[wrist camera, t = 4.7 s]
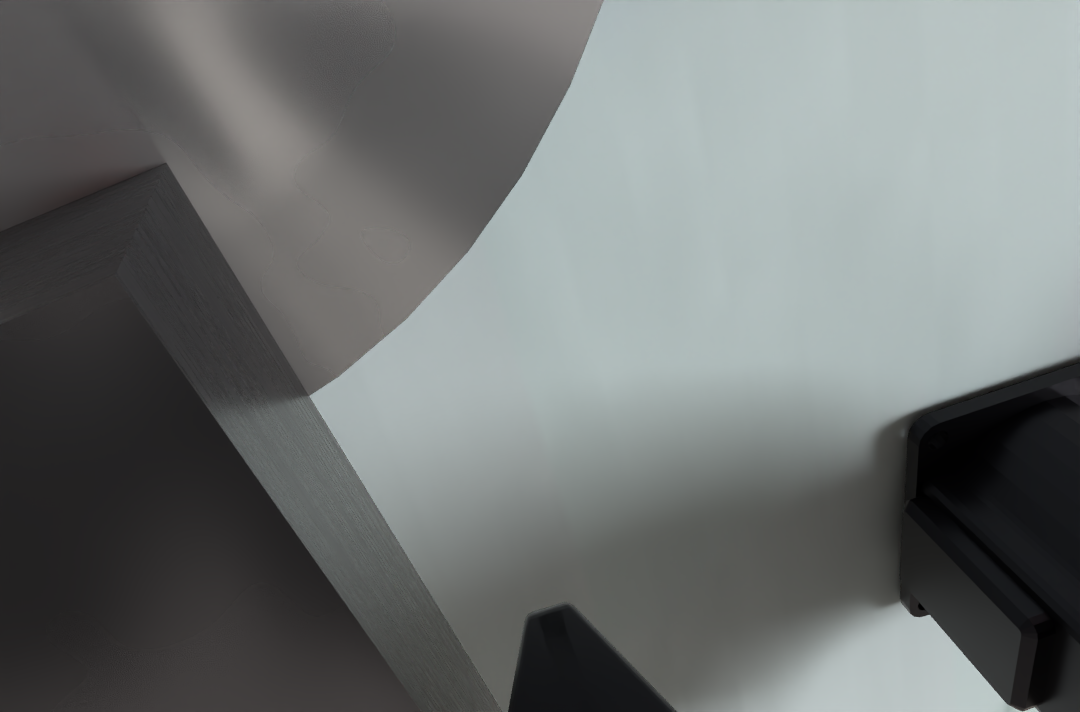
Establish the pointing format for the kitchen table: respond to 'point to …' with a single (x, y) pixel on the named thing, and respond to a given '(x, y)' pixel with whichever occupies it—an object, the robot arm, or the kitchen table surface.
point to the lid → (234, 333)
